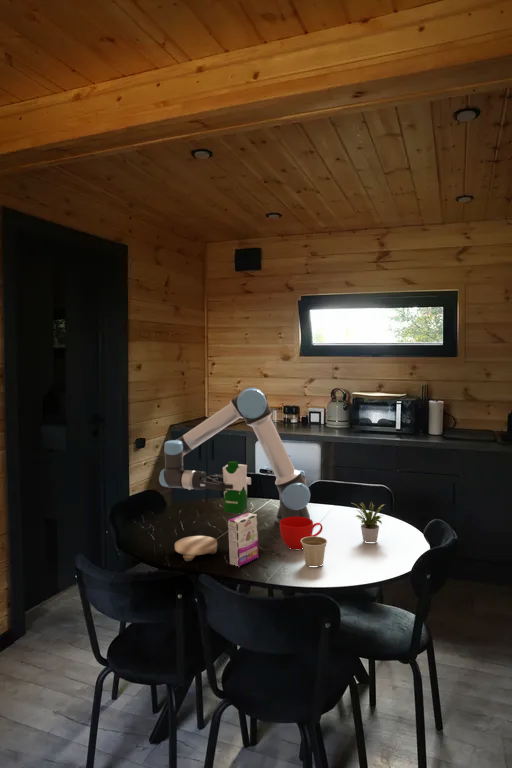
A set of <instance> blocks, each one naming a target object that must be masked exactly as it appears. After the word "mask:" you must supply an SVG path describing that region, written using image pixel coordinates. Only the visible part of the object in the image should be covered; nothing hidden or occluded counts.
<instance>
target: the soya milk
mask: <svg viewBox="0 0 512 768" xmlns="http://www.w3.org/2000/svg"><path fill="white" fill-rule="evenodd" d="M247 468H248V464H241V463H239V461H238V460H230V461H229V460H228V462H227V464H226V465H225V466H223V467H222V475H223V483H225V484H226V482H231V483H242V490H241V491H239V490H227V489H225V491H224V492H223V507H224V513H230V514H231V513H232V514H242V513H243V512H244V511H246V510H247V509H248V484H247V477H248V476H247V472H248V469H247Z"/></svg>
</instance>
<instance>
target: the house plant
mask: <svg viewBox="0 0 512 768" xmlns="http://www.w3.org/2000/svg"><path fill="white" fill-rule="evenodd" d="M351 504H353V505H355V506H357V504H356V503H353V502H351ZM359 505H360V506H361V507H357V508H355V509H356V511H357V512H358V513H360V515H359V514H356V515H355V518H358V519H359V520H360V521H361V524H360V529H361V537H362V540H364V541H366V542H376V541H377V542H378V536H379V532H380V531H379V530H380V526H379V524H378V523H380V525H382V523H383V522H382V520H380V519H383V516H380V515H378V513H379V512H380V511H381V510H382V507H383V506H385V505H386V503H385V504H381V505H380V506H378V508H377V509H376V510H375V511H374V503H373V501H370V504H369V510H368V511H367V508H366V505H365V504H364V503H363V502H361V503H360V502H359ZM364 541H363V542H364ZM377 542H376V543H377Z"/></svg>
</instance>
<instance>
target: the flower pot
mask: <svg viewBox="0 0 512 768" xmlns="http://www.w3.org/2000/svg"><path fill="white" fill-rule="evenodd" d="M301 543H302V546H303V549H302V550H303V556H304V561H305V562H304V563H305V565H306V564H307V565H309V566H319V567H320V565H322V564H323V565H324V559H325V551H326V546H327V543H328V539H326V538H325V537H322V536H318V535H317V536H311V537H305V538H303V539H301ZM307 565H306V566H307ZM323 565H322V566H323Z"/></svg>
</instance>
